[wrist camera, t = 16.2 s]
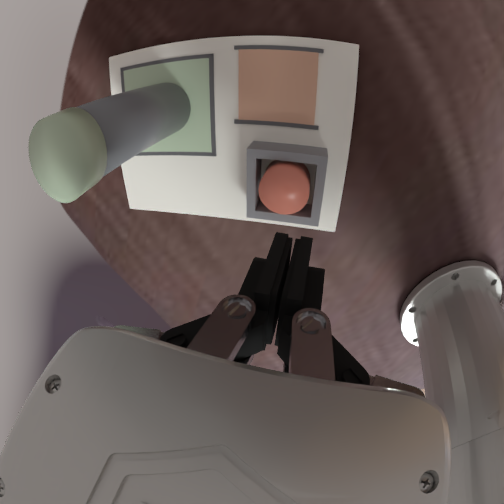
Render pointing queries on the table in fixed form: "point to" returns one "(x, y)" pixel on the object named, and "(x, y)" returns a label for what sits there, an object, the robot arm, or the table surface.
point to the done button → (285, 187)
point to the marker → (102, 137)
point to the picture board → (245, 124)
